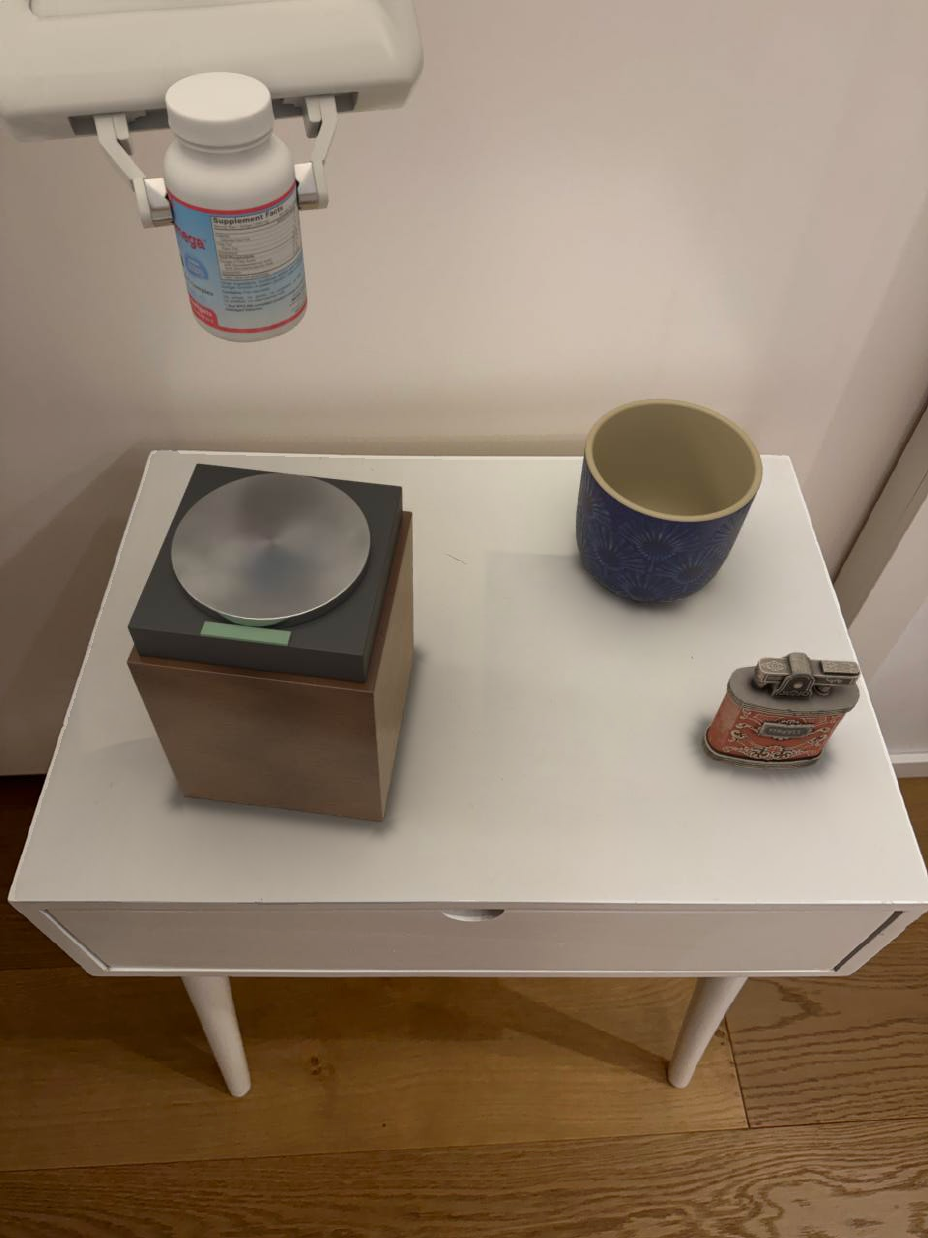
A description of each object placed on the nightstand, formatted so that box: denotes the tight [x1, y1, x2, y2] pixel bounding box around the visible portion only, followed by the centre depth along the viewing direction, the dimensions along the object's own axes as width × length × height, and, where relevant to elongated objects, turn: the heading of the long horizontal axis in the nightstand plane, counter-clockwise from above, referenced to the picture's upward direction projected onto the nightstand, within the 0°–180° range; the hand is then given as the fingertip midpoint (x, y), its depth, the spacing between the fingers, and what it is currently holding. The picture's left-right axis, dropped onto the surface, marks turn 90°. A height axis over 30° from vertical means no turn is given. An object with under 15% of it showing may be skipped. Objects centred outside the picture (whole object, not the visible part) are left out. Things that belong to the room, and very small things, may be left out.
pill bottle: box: [162, 72, 308, 343], centre depth 47 cm, size 6×6×11 cm
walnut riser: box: [126, 510, 415, 822], centre depth 59 cm, size 13×13×15 cm
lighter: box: [701, 651, 862, 770], centre depth 61 cm, size 8×3×10 cm, turn 88°
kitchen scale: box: [127, 462, 404, 683], centre depth 52 cm, size 12×12×3 cm
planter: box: [575, 398, 764, 604], centre depth 71 cm, size 12×12×11 cm
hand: (238, 215), depth 46 cm, fingers closed on pill bottle, 6 cm apart
